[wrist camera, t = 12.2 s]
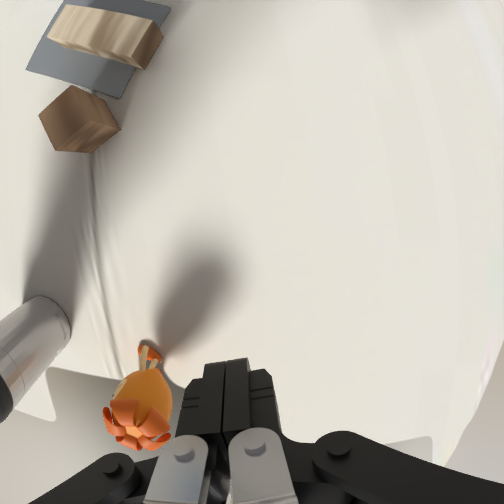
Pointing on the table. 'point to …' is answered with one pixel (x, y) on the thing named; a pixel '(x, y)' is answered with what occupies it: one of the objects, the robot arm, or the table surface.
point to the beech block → (107, 34)
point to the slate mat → (88, 65)
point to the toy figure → (141, 406)
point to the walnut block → (78, 121)
